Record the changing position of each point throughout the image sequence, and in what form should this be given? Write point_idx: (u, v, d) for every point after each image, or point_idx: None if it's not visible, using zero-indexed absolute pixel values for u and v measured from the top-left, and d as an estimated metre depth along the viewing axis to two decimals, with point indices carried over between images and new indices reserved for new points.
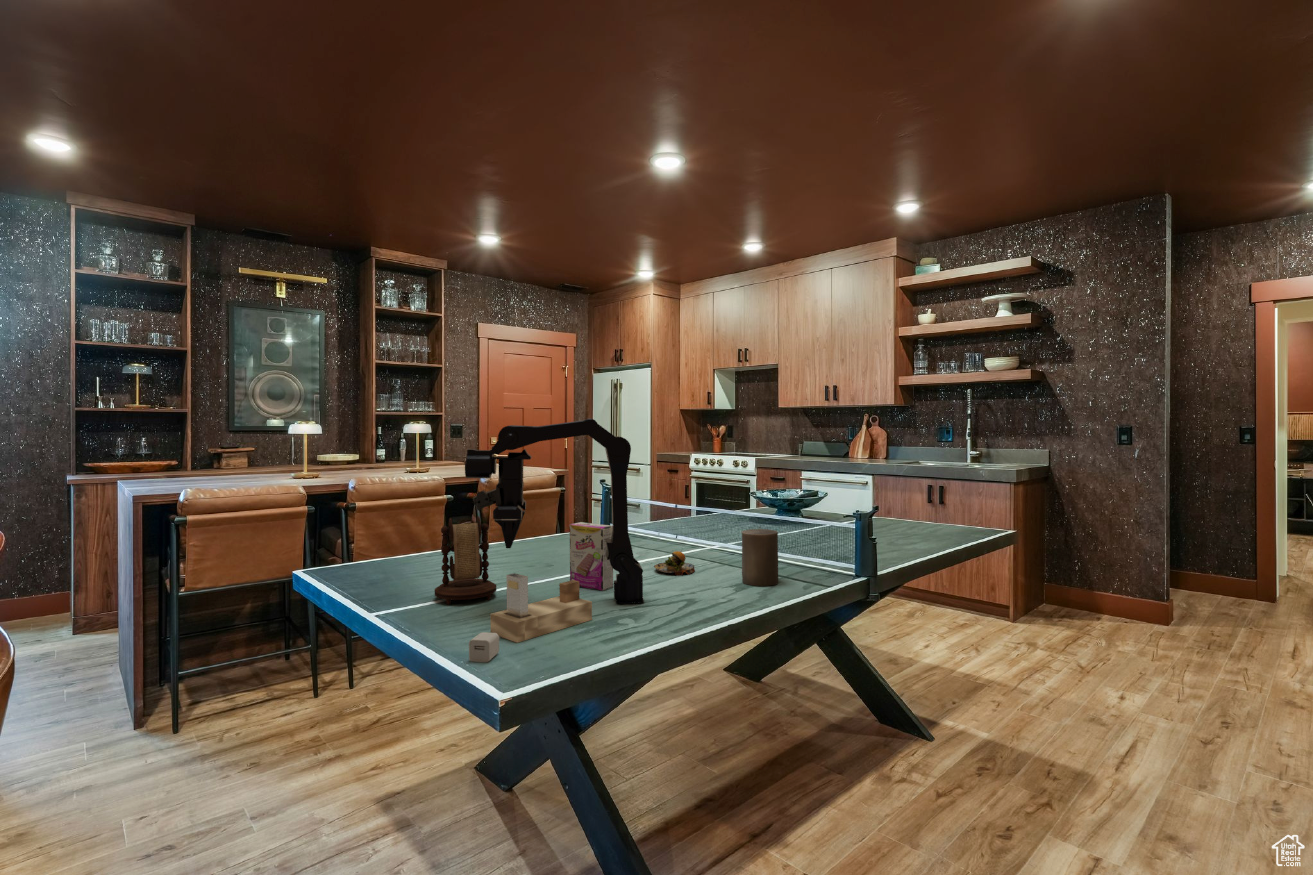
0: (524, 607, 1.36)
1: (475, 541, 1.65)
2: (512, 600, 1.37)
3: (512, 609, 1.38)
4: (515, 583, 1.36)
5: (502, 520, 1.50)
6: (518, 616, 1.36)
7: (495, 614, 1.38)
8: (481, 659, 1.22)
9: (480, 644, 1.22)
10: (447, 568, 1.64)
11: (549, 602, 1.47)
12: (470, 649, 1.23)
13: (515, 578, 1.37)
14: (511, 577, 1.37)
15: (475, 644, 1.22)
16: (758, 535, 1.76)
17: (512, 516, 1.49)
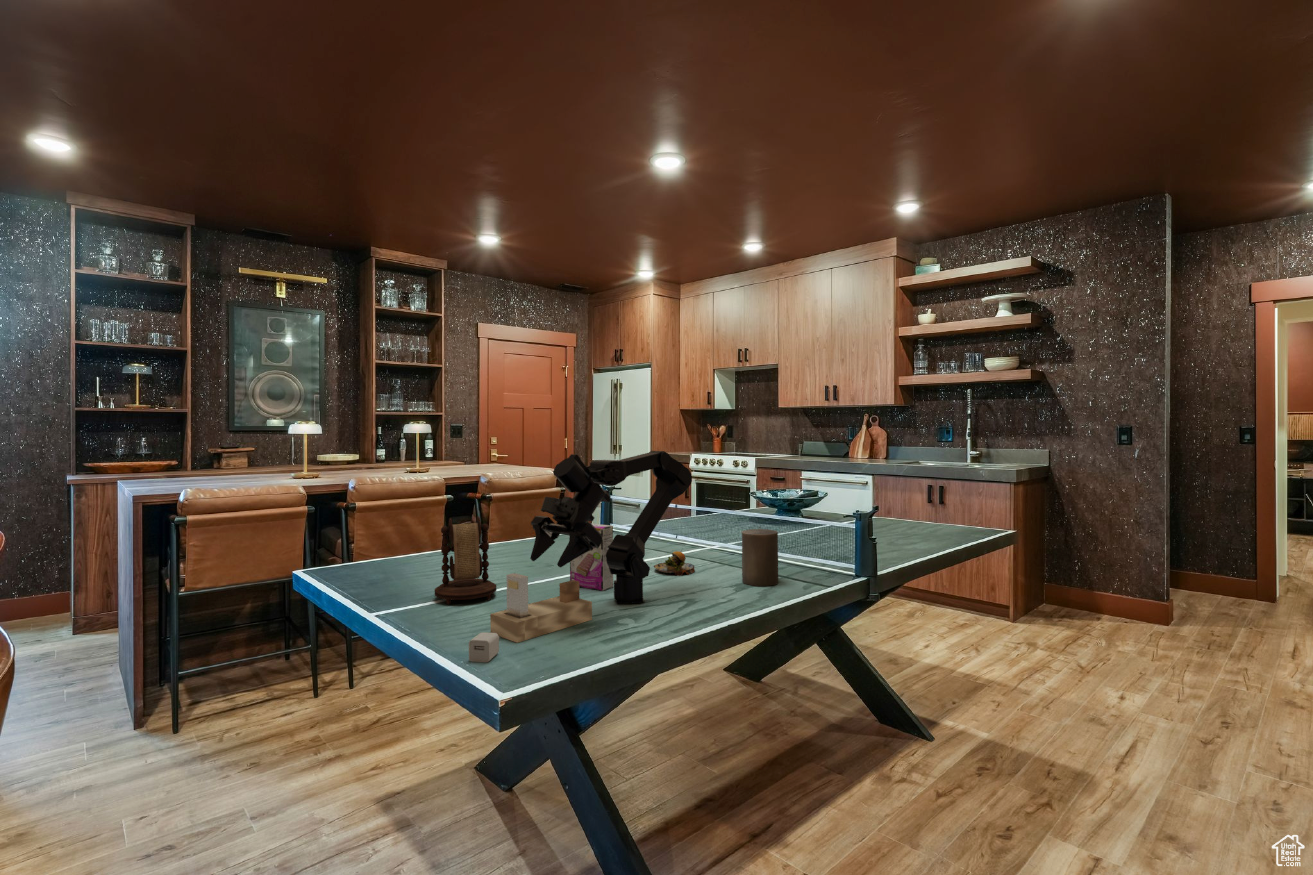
0: (524, 607, 1.37)
1: (475, 541, 1.65)
2: (512, 600, 1.37)
3: (512, 609, 1.38)
4: (515, 583, 1.36)
5: (583, 538, 1.41)
6: (518, 616, 1.36)
7: (495, 614, 1.38)
8: (481, 659, 1.22)
9: (480, 644, 1.22)
10: (447, 568, 1.64)
11: (549, 602, 1.47)
12: (470, 649, 1.23)
13: (515, 578, 1.37)
14: (511, 577, 1.37)
15: (475, 644, 1.22)
16: (758, 535, 1.76)
17: (596, 541, 1.42)
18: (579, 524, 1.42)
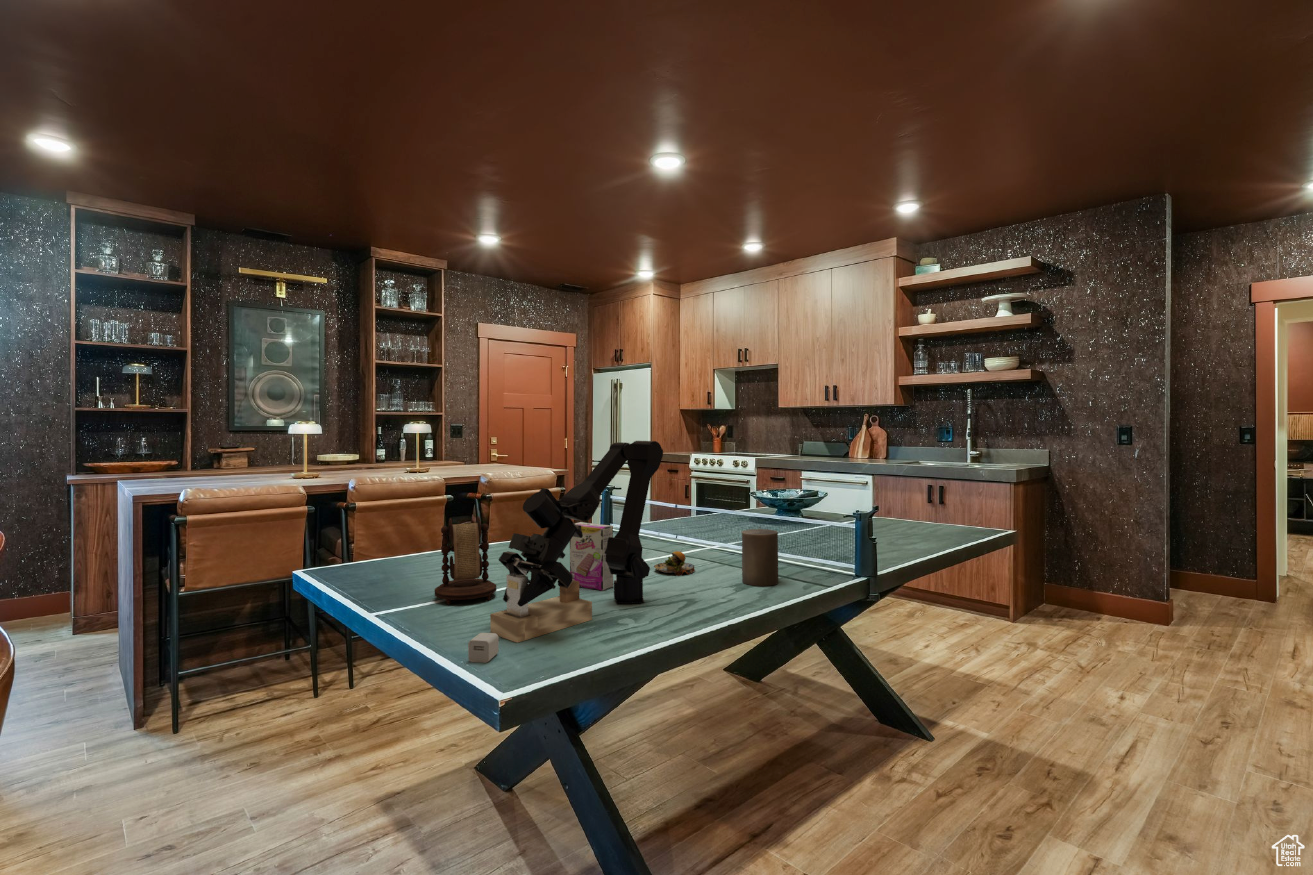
0: (524, 606, 1.36)
1: (475, 541, 1.65)
2: (512, 599, 1.37)
3: (512, 609, 1.38)
4: (515, 583, 1.36)
5: (545, 576, 1.36)
6: (518, 616, 1.36)
7: (495, 614, 1.38)
8: (480, 659, 1.22)
9: (479, 644, 1.22)
10: (447, 568, 1.64)
11: (549, 602, 1.47)
12: (469, 649, 1.22)
13: (515, 578, 1.37)
14: (511, 577, 1.37)
15: (474, 644, 1.22)
16: (758, 535, 1.76)
17: (566, 581, 1.35)
18: (548, 563, 1.35)
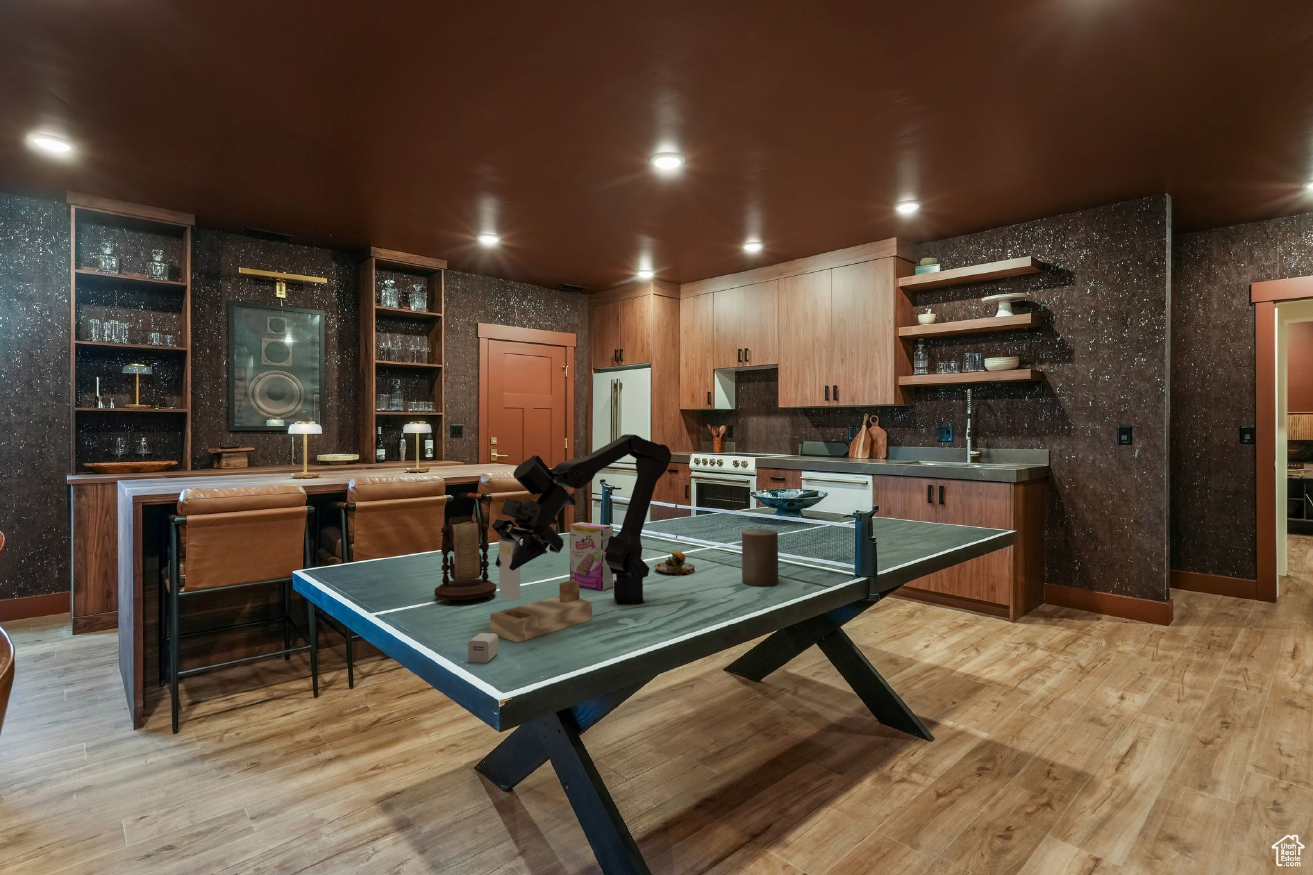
0: (515, 571, 1.38)
1: (475, 541, 1.65)
2: (504, 564, 1.39)
3: (504, 573, 1.39)
4: (507, 547, 1.38)
5: (536, 540, 1.37)
6: (509, 581, 1.38)
7: (495, 614, 1.38)
8: (480, 660, 1.22)
9: (479, 645, 1.22)
10: (447, 568, 1.64)
11: (549, 602, 1.47)
12: (469, 650, 1.22)
13: (507, 543, 1.38)
14: (503, 542, 1.39)
15: (474, 645, 1.22)
16: (758, 535, 1.76)
17: (556, 545, 1.37)
18: (539, 527, 1.37)
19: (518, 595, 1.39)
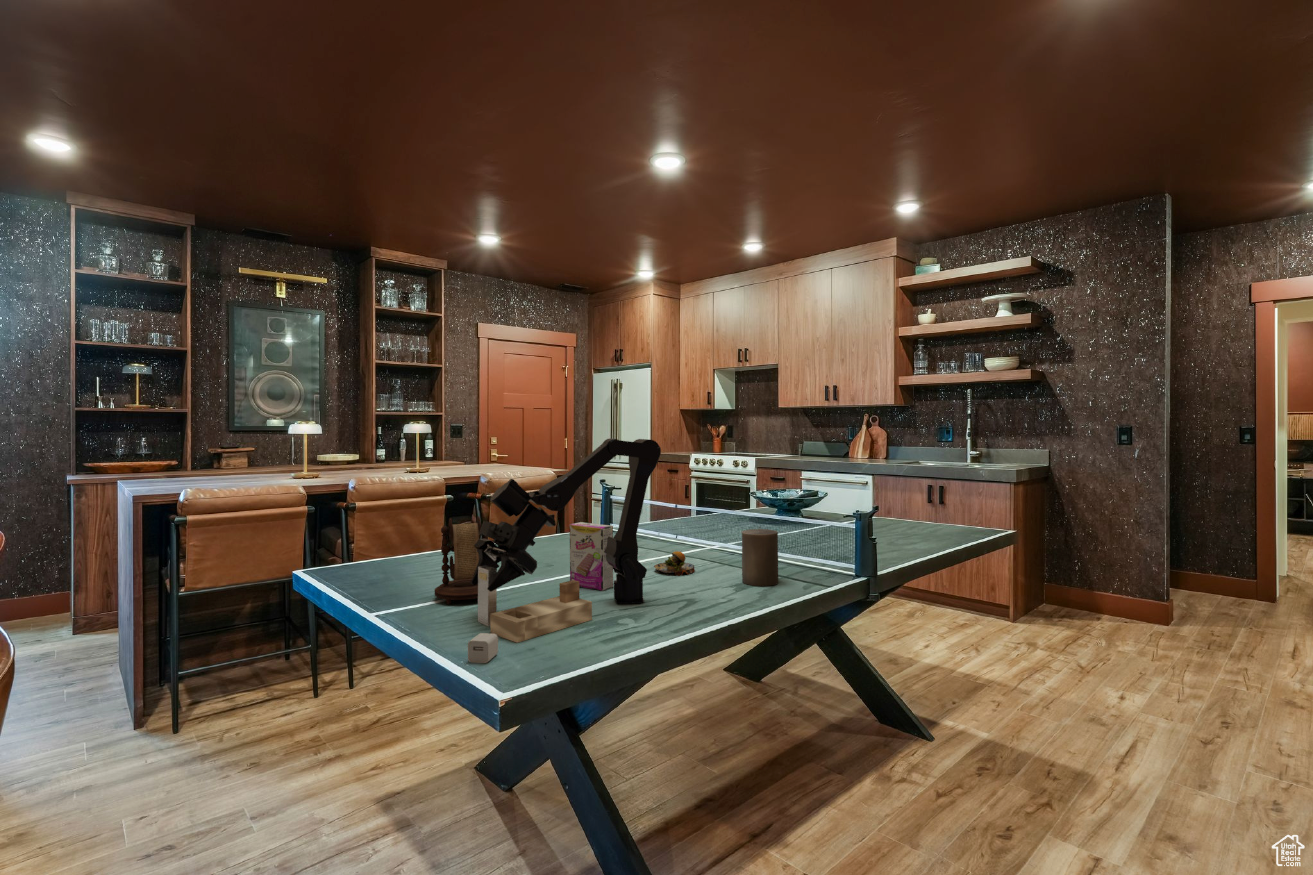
0: (492, 597, 1.44)
1: (475, 541, 1.65)
2: (482, 590, 1.45)
3: (482, 599, 1.45)
4: (485, 574, 1.44)
5: (514, 563, 1.42)
6: (486, 606, 1.44)
7: (495, 614, 1.38)
8: (480, 660, 1.22)
9: (479, 645, 1.22)
10: (447, 568, 1.64)
11: (549, 602, 1.47)
12: (469, 650, 1.22)
13: (485, 570, 1.44)
14: (482, 569, 1.45)
15: (474, 645, 1.22)
16: (758, 535, 1.76)
17: (529, 567, 1.42)
18: (513, 549, 1.42)
19: None
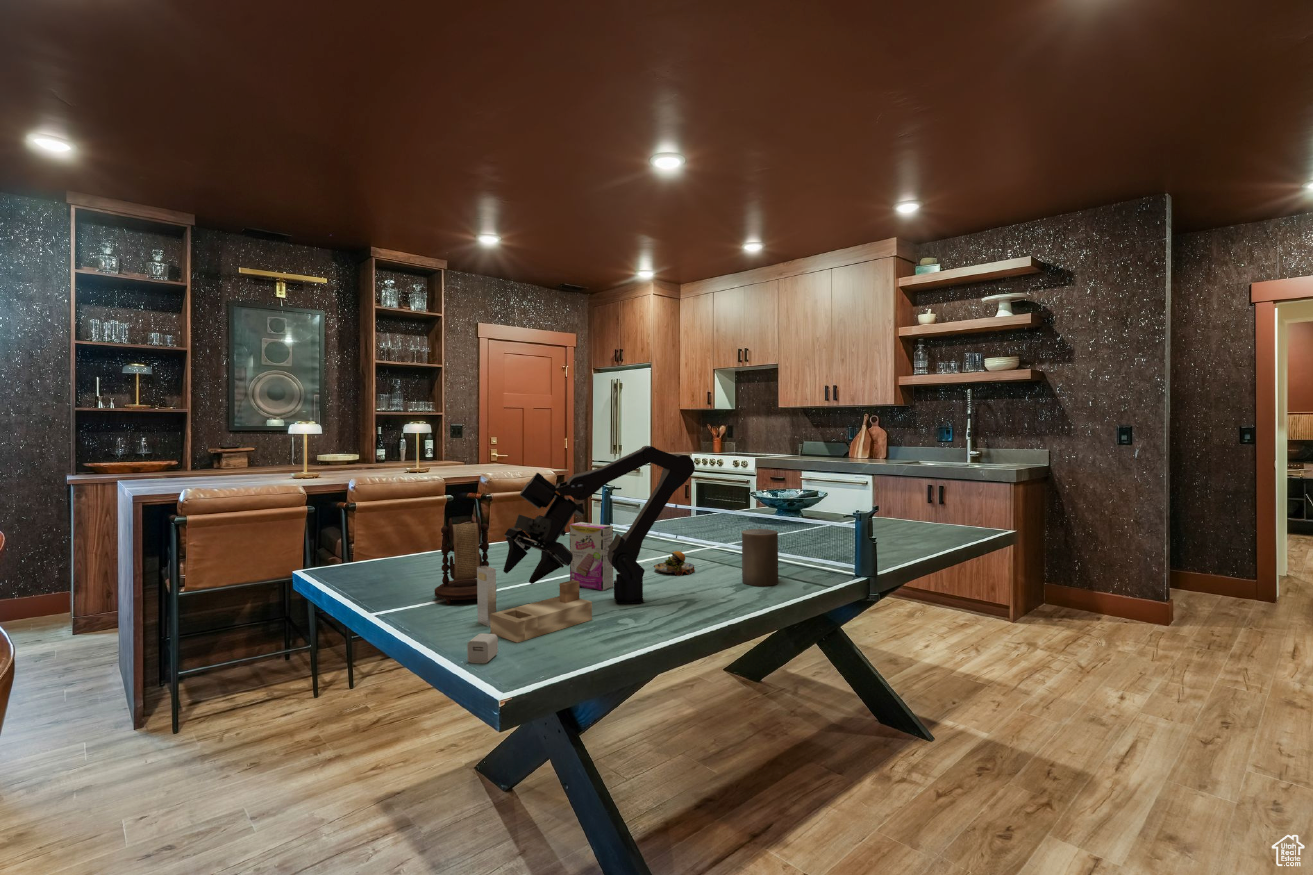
0: (491, 597, 1.44)
1: (475, 541, 1.65)
2: (481, 591, 1.45)
3: (481, 599, 1.45)
4: (484, 575, 1.44)
5: (554, 557, 1.48)
6: (486, 607, 1.44)
7: (495, 614, 1.38)
8: (480, 660, 1.22)
9: (479, 645, 1.22)
10: (447, 568, 1.64)
11: (549, 602, 1.47)
12: (468, 650, 1.22)
13: (483, 570, 1.44)
14: (480, 569, 1.45)
15: (473, 645, 1.22)
16: (758, 535, 1.76)
17: (567, 560, 1.49)
18: (551, 544, 1.48)
19: None
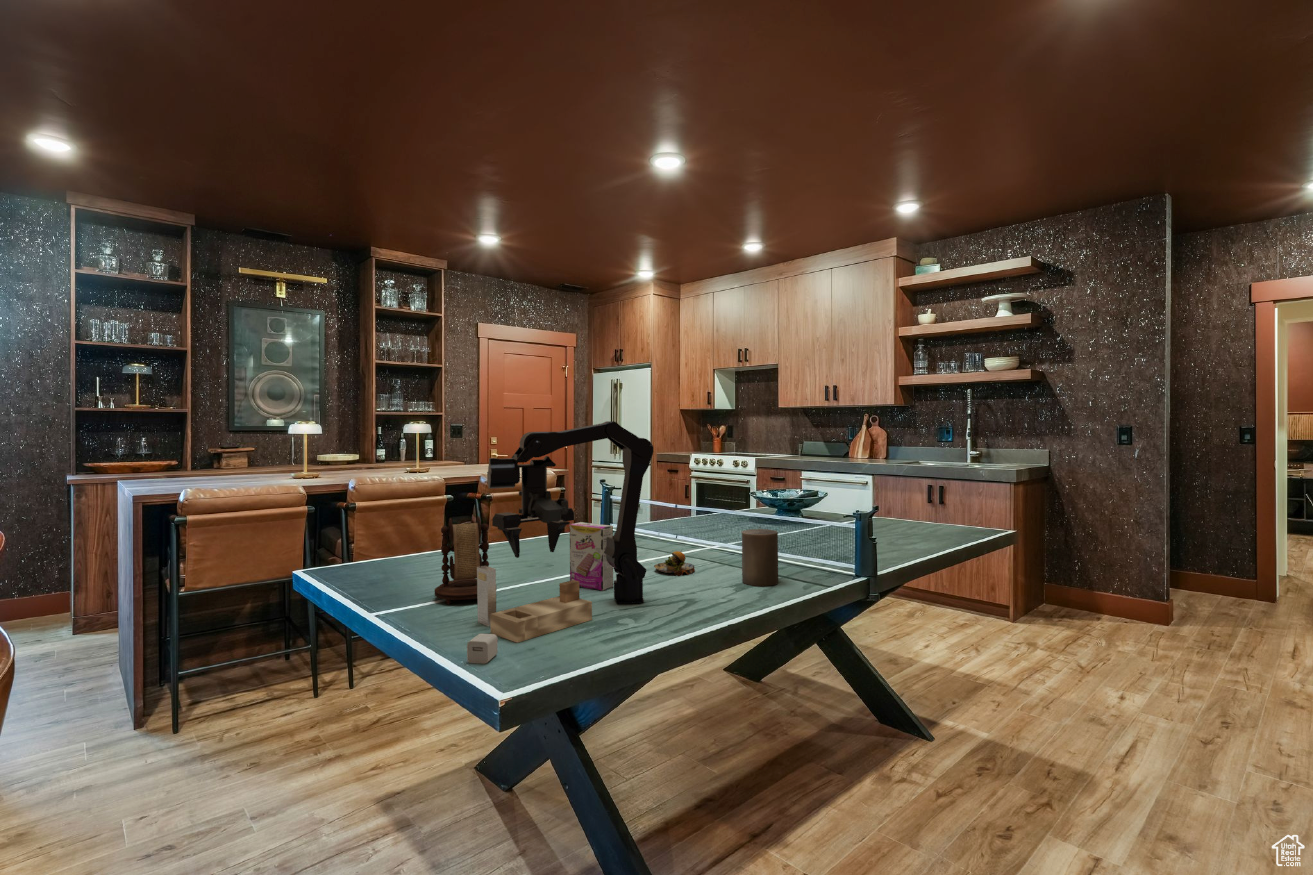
0: (491, 597, 1.44)
1: (475, 541, 1.65)
2: (481, 591, 1.45)
3: (481, 599, 1.45)
4: (484, 575, 1.44)
5: None
6: (486, 607, 1.44)
7: (495, 614, 1.38)
8: (479, 660, 1.22)
9: (478, 645, 1.22)
10: (447, 568, 1.64)
11: (549, 602, 1.47)
12: (468, 650, 1.22)
13: (483, 570, 1.44)
14: (480, 569, 1.45)
15: (473, 645, 1.22)
16: (758, 535, 1.76)
17: None
18: (567, 514, 1.56)
19: None
